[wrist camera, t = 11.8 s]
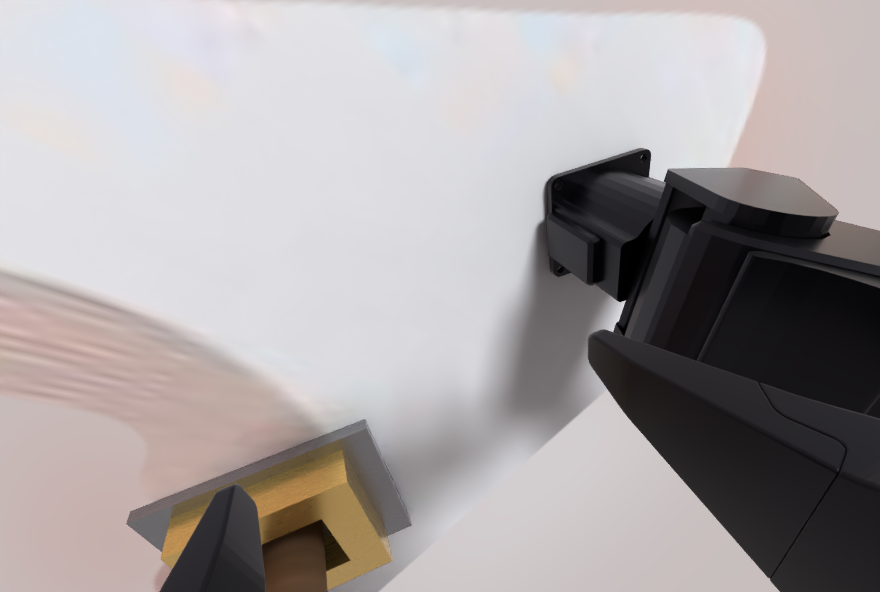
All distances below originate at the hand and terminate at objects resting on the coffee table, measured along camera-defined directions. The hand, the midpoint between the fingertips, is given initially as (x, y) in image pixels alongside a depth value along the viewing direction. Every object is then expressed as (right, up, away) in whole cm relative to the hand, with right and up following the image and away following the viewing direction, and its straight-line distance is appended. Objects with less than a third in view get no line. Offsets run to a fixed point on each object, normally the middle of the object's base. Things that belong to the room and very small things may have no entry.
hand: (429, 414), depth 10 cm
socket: (-11, -13, +20) cm, 26 cm away
